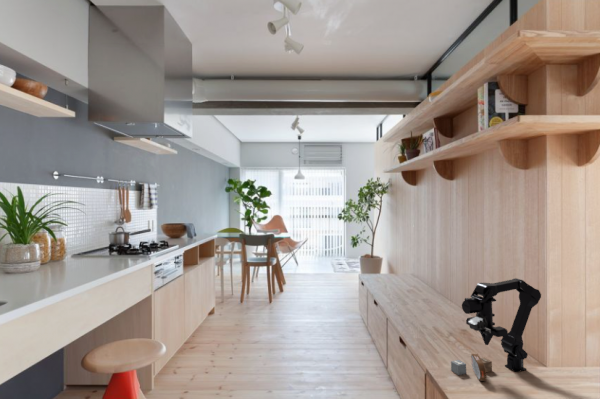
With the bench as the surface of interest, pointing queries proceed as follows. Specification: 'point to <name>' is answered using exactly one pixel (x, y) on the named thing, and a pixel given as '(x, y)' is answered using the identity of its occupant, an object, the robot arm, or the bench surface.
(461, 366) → the slate number block
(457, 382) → the bench surface
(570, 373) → the bench surface
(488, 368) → the walnut number block
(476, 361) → the tin
